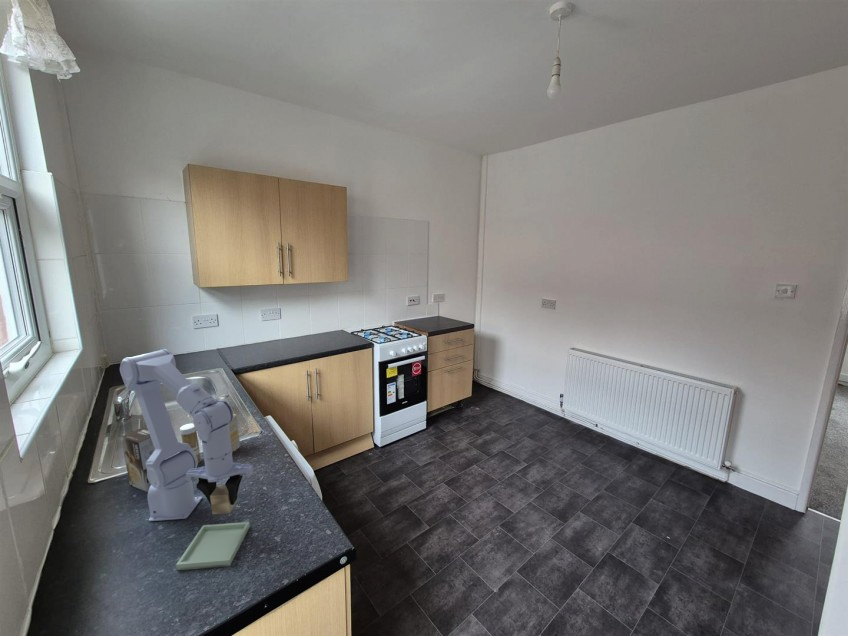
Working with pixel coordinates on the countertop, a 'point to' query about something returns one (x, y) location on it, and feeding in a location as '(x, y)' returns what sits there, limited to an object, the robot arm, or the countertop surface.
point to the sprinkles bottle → (190, 438)
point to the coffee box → (138, 456)
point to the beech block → (221, 500)
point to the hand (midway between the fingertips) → (224, 502)
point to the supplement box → (234, 433)
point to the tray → (214, 546)
